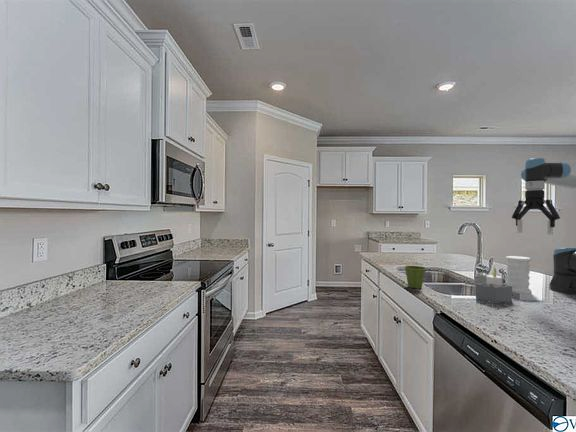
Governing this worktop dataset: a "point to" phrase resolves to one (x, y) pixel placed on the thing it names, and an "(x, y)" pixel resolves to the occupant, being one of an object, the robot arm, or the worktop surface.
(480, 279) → the teacup
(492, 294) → the slate holder
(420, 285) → the plant pot
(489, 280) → the candle
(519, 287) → the decorative container
